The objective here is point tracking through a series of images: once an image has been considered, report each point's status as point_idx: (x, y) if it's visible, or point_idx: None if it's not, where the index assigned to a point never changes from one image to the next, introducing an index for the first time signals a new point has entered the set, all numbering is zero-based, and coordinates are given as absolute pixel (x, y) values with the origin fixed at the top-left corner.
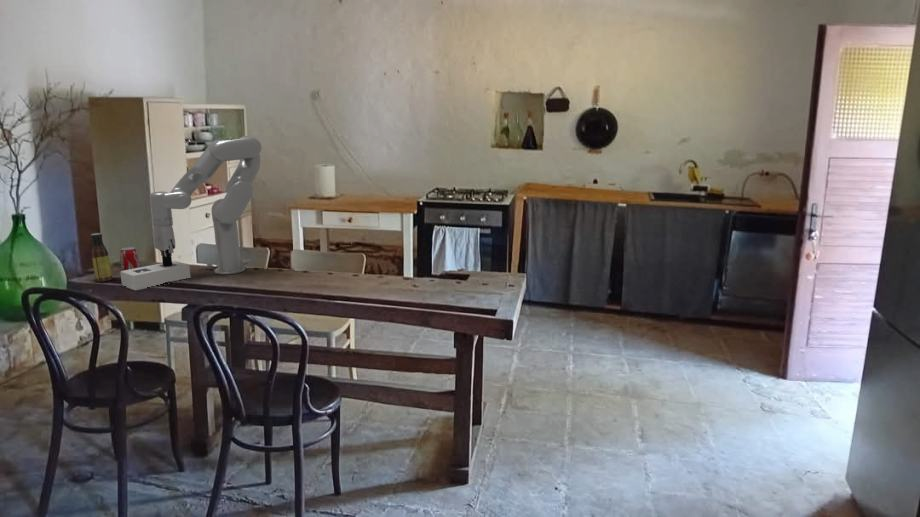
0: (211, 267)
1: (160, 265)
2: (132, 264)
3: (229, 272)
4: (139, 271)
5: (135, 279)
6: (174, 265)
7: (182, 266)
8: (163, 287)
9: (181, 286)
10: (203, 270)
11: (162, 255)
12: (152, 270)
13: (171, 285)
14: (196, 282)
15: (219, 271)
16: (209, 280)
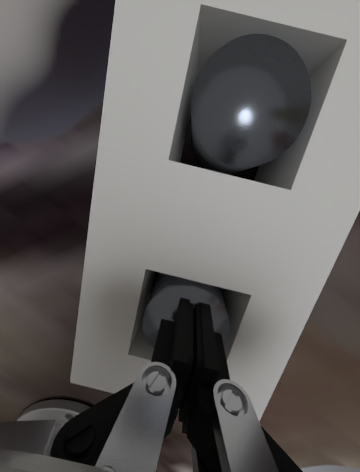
0: (187, 459)
1: (246, 307)
2: None
3: (20, 416)
4: (243, 66)
5: None
6: (152, 344)
7: (76, 342)
8: (79, 152)
9: (20, 206)
10: (178, 423)
11: (217, 389)
12: (155, 155)
13: (79, 198)
14: (28, 283)
15: (59, 414)
16: (12, 324)
